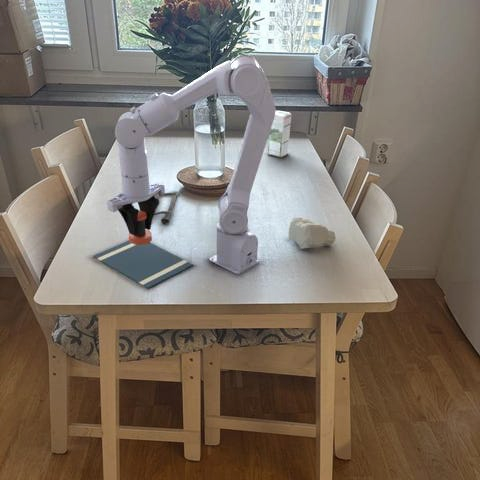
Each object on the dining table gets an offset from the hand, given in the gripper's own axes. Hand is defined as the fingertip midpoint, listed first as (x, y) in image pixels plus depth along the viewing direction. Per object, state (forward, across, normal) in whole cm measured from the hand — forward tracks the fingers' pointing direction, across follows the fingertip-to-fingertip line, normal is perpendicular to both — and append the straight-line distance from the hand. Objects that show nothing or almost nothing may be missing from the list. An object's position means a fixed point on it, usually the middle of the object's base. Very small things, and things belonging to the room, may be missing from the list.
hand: (140, 231), depth 116 cm
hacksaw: (+8, -23, -21) cm, 32 cm away
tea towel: (+8, 0, 0) cm, 8 cm away
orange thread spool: (+2, 0, 0) cm, 2 cm away
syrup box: (+8, -84, -24) cm, 88 cm away
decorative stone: (+8, -36, +24) cm, 44 cm away
